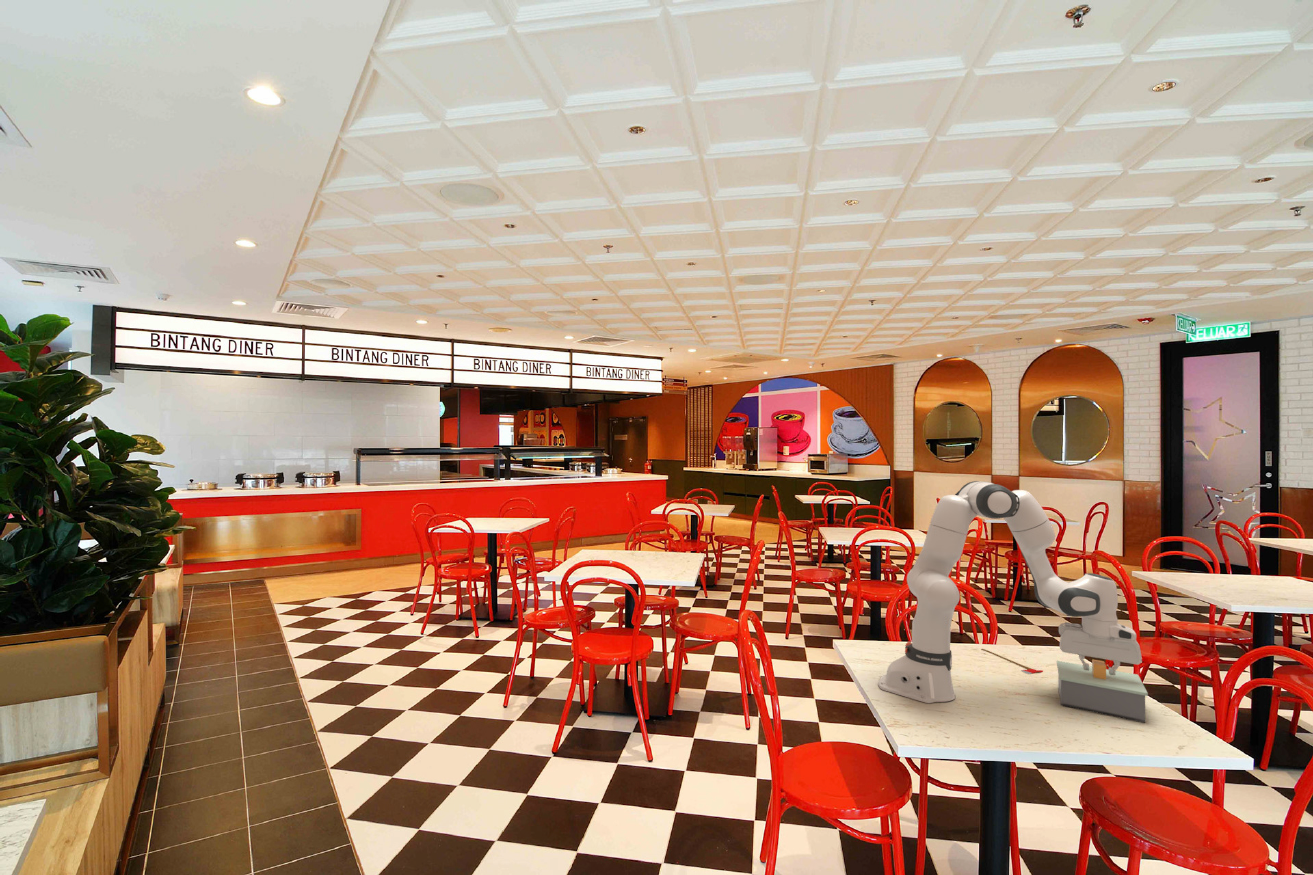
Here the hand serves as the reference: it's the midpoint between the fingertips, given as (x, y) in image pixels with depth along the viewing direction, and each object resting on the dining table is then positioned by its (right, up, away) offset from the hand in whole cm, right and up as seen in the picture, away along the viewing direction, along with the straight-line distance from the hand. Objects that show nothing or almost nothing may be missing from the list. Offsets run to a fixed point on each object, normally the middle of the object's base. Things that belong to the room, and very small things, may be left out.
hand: (1098, 671), depth 182 cm
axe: (-4, -11, +37) cm, 39 cm away
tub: (0, -10, 0) cm, 10 cm away
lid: (0, -3, 0) cm, 3 cm away
